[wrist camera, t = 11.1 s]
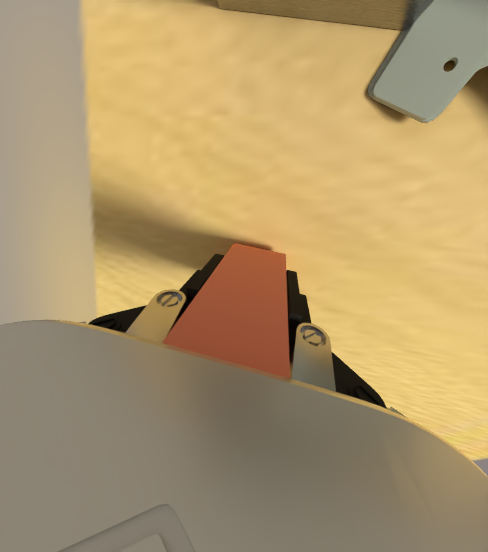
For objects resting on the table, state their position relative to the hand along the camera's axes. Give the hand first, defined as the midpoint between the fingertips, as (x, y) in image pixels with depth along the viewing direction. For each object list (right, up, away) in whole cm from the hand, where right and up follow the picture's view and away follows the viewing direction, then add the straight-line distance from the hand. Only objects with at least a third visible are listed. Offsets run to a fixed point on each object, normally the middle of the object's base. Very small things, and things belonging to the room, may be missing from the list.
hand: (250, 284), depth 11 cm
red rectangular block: (0, +1, +2) cm, 2 cm away
